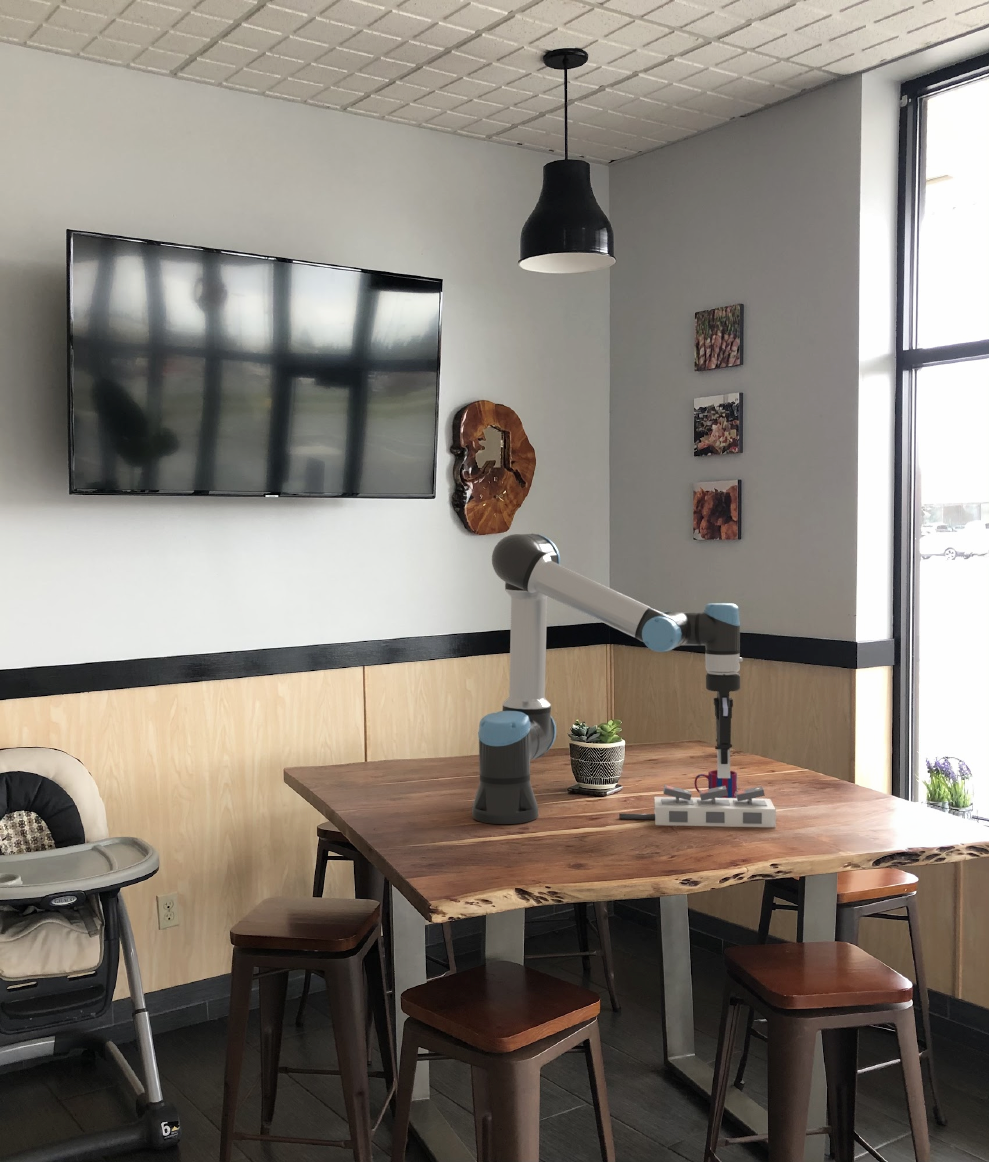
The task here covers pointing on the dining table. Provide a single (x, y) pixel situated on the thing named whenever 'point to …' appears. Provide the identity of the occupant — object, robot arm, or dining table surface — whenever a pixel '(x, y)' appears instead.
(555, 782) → the dining table surface
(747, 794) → the rocker right
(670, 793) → the rocker left
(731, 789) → the mug
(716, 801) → the strip
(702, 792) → the rocker mid
